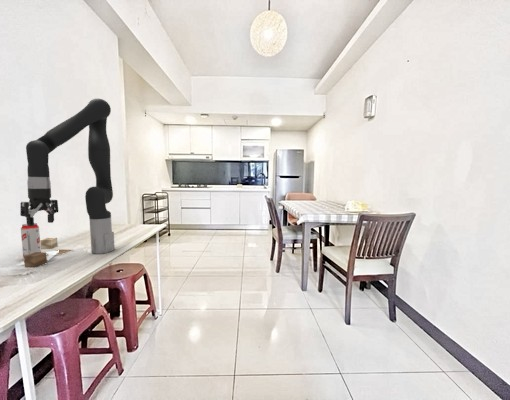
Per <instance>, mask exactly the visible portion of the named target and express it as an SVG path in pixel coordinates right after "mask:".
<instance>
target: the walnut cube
mask: <svg viewBox="0 0 510 400" xmlns="http://www.w3.org/2000/svg"><path fill="white" fill-rule="evenodd" d="M46 254H47V252H46V251H43V252H42V251H41V252H35V253H31V254H28V255H25V256H24V258H23V261H24V263H23V264H24V268H35V267H36V268H38V267H40V265H41V266H43V264H44V265H46V264H45V263H47V264H48V258H47V256H48V255H46Z"/></svg>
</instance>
